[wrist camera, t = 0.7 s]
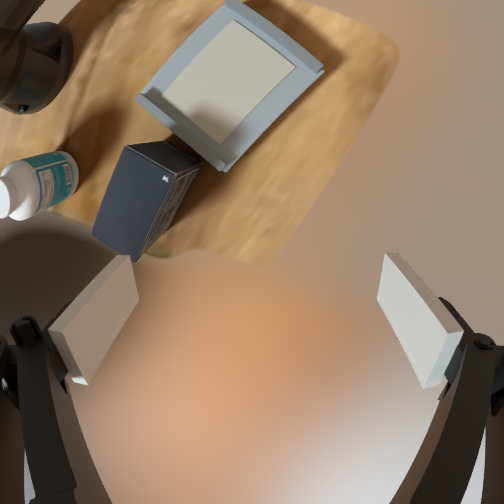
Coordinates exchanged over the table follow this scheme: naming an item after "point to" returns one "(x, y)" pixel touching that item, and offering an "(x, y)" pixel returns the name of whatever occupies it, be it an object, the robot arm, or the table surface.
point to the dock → (229, 83)
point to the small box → (143, 196)
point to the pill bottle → (37, 184)
